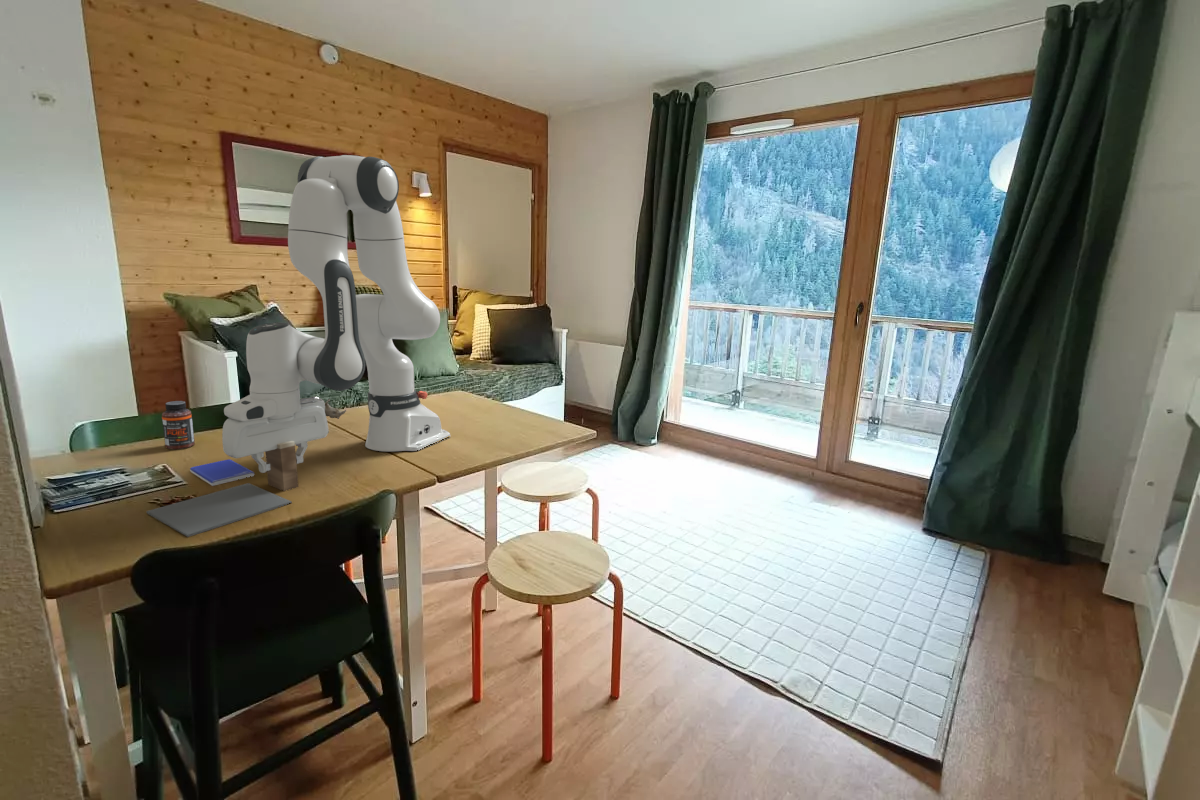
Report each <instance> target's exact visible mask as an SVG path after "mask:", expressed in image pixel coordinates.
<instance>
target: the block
mask: <svg viewBox="0 0 1200 800" xmlns="http://www.w3.org/2000/svg"><path fill="white" fill-rule="evenodd" d="M264 453H265V454H264V455H265V462H267V463H270V468H271V471H269V472H266V473H267V482H268V486H271V487H273V488H275V489H278V490H280V491H282V490H283V492H286V490H287V491H289V489H290V490H293V489H292V488H294V489H297V488H299V479H298V478H299V476H298V468H297V465H298V464H296V444H295V442H294V441H288V442H284V443H280V444H277V449H275V450H270V451H266V452H264ZM296 487H297V488H296Z"/></svg>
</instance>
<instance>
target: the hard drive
mask: <svg viewBox="0 0 1200 800" xmlns="http://www.w3.org/2000/svg"><path fill="white" fill-rule="evenodd" d="M189 471H190V473H192V474H193V475H195V476H196V477H198V478H200V479H201V480H202V481H204V482H206V483H208V484H209V485H210V486H212V487H214V486H218V485H221V484H225V483H230V482H233V481H234V482H235V481H239V480H242V479H247V478H250V476H251V477H254V475H255V472H254V471H253V470H250V468H247V467H246V466H243V465H242V464H240V463H237V462H236V461H234V460H233V459H224V460H219V461H215V462H210V463H205V464H201V465H195V466H192V467H190V468H189ZM246 477H247V478H246ZM238 479H239V480H238Z"/></svg>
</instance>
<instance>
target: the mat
mask: <svg viewBox="0 0 1200 800" xmlns="http://www.w3.org/2000/svg"><path fill="white" fill-rule="evenodd" d="M289 503H291V504H292V500H289V499H287V498H284V497H282V496H280V495H277V494H276V493H272V492H270V491H268V490H267V489H266V490H265V489H263V488H260V487H259V486H257V485H254V484H252V483H249V482H247V483H244V484H240V485H239V484H238V485H236V486H232V487H229V488H226V489H220V490H217V491H214V492H210V493H208V494H207V493H206V494H203V495H200V496H197V497H193V498H189V499H186V500H183V501H178V502H175V503H172V504H167V505H165V506H161V507H157V508H152V509H149V510H146V514H147V515H149V516H150V517H152V518H155V519H156V520H157V521H160V522H161V523H163V524H165V525H166V526H168V527H169V528H171V529H173V530H175V531H176V532H178V533H179V534H182V535H184V536H185V537H186V538H191V537H192V536H195V535H198V534H201V533H205V532H208V531H210V530H211V531H212V530H214V529H217V528H220V527H223V526H226V525H229V524H233V523H235V522H239V521H241V520H244V519H247V518H252V517H254V516H256V515H259V514H263V513H267V512H270V511H273V510H275V509H278V507H279V508H281V506H282V507H285V506H288V505H290V504H289ZM287 504H288V505H287ZM284 505H285V506H284Z"/></svg>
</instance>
